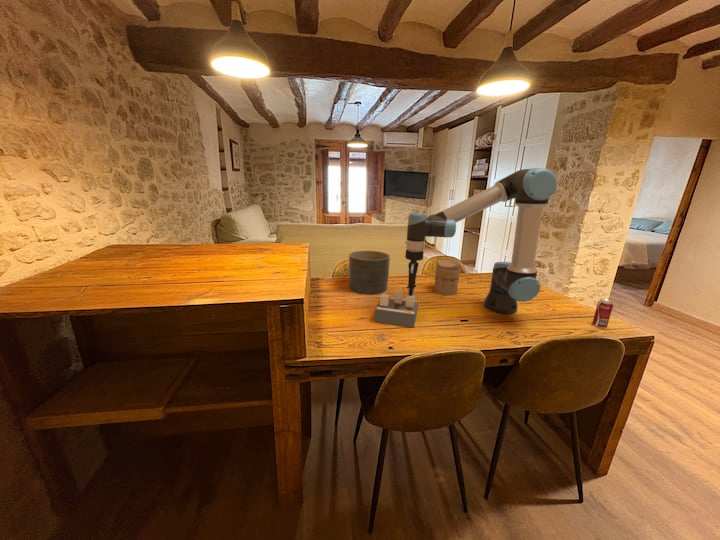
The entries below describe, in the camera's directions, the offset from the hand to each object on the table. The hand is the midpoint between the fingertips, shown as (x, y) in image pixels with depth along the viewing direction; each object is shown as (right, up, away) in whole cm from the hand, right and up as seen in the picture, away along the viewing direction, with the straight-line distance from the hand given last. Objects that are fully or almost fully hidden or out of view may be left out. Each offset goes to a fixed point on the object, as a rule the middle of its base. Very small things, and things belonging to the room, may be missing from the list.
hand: (410, 301), depth 134 cm
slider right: (-1, -2, -2) cm, 3 cm away
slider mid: (-5, -1, +2) cm, 6 cm away
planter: (-18, +3, +34) cm, 39 cm away
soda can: (+84, -11, -1) cm, 84 cm away
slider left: (-12, -1, -2) cm, 12 cm away
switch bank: (-6, -7, +1) cm, 9 cm away
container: (+25, +1, +32) cm, 41 cm away
